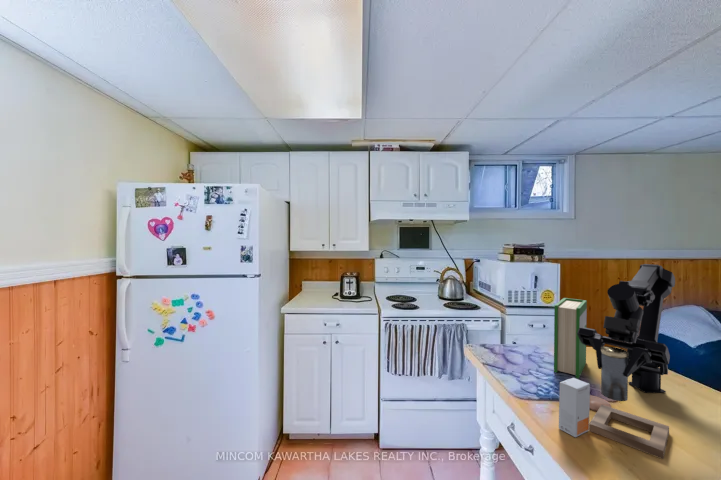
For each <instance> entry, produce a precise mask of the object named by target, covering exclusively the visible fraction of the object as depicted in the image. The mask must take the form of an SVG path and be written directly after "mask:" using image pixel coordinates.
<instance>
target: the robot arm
mask: <svg viewBox="0 0 721 480" xmlns="http://www.w3.org/2000/svg"><path fill="white" fill-rule="evenodd" d="M675 285H676V277H675V275H674V272H672V271H670V270H668V269H665V268H663V266H662V265H659V264H649V263H644V264H640V265H639V269H638V271H637V273H636V274H635V275H634V276H633V278H632V279H631V280H628V281H627V280H624V281H623V280H619V282H618V283H615V284H613V285H611V286H610V287H609V288H607V291H606V292H607V296H608V298H609V300H610V303H611V306H612V308H613V309H614V310H615V312H614V315H613V316H607V315H606V316H604V321H603V329H605V331H604V333H605V334H606V335H608V336H605V335H604V336H603V335H602V334H600V333H598V332H597V329H594V328H589V327H586V328H585V327H581V328H579V329H578V332H577V335H578V337H579V339H580V341H581V343H582V344H584V345H586V347H587V346H588V347H592V349H593V350H594V351H595V354H596V363H597V368H598V370H601V347H605V346H606V345H608V346H612V347H616V348H620V349H625V350H626V351H627V352H628V353H629V356H628V366H627V368H626V373H625V376H626V377H628V378H629V377H630V376H631V381H628V384H629V385H630V386H632V387H634V388H636V389H638V390H640V391H641V392H643V393H646V394H649V393H650V394H666V392H667V391H666V390H665V389H662V387H661V386H662V385H661V384H662V382H661V381H662V376H664V375H669V368H668V367H669V366H668V365H669V364H670V358H671V355H670V352H669V348H668V346H667V345H666V343H661V342H658V340H659V339H658V338H659V332H660V326H661V317H662V311H663V305H664V304H663V303H664V299H666V298H667V297H669V296H670V295H671V293H672V290H673V288H675ZM642 307H643V308H642Z"/></svg>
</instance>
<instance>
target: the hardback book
mask: <svg viewBox="0 0 721 480" xmlns="http://www.w3.org/2000/svg"><path fill="white" fill-rule="evenodd" d="M587 305H588V302H587V300H584V299H577V298H568V297H563V298H562V299H561V300H558V302H557V303H555V304H554V310H553V311H554V312H553V313H554V314H553V315H554V316H553V317H554V319H553V320H554V323H553V325H554V326H553V330H554V331H553V333H554V334H553V373H555V372H556V374H557V373H558V372H562V373H566V374H571V375H574V376H575V378H576V379H580V377H581V375H582V372H583V370H584V369H585V366H586V363H587V345H584V344H582V343H581V341H580V339H579V337H578V335H577V332H578V329H579V328H581V327H585V328H587V319H588V318H587V314H588V313H587V311H588V310H587V309H588V306H587Z"/></svg>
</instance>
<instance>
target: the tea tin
mask: <svg viewBox="0 0 721 480" xmlns="http://www.w3.org/2000/svg"><path fill="white" fill-rule="evenodd" d="M628 356H629V353H628V352H627V349H624V348H621V347H617V346H609V345H608V346H606V345H604V347H601V369H600V371H601V373H600V376H601V377H600V383H601V384H600V385H601V386H600V388H601V389H600V393H601V395H602V396H604V397H605V398H607V399H609V400H613V401H617V402H626V401H628V393H629V392H628V391H629V390H628V389H629V388H628V387H629V385H628V384H629V377H626V376H625V373H626V368H627V366H628Z"/></svg>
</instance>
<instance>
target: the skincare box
mask: <svg viewBox="0 0 721 480" xmlns="http://www.w3.org/2000/svg"><path fill="white" fill-rule="evenodd" d="M590 395H591V384H590V383H589V382H586V381H583V380H580V379H579V378H576V377H572V378H568V379H565V380H563V381H560V382H559V397H558V398H559V401H558V402H559V403H558V429H559V430H561V431H562V432H565V433H567V435H568V434H569V435H570V436H572V437H574V438H578V437H579V436H582V435H584V434H586V433H588V432H590V431H589V423H590V409H589V408H590Z"/></svg>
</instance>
